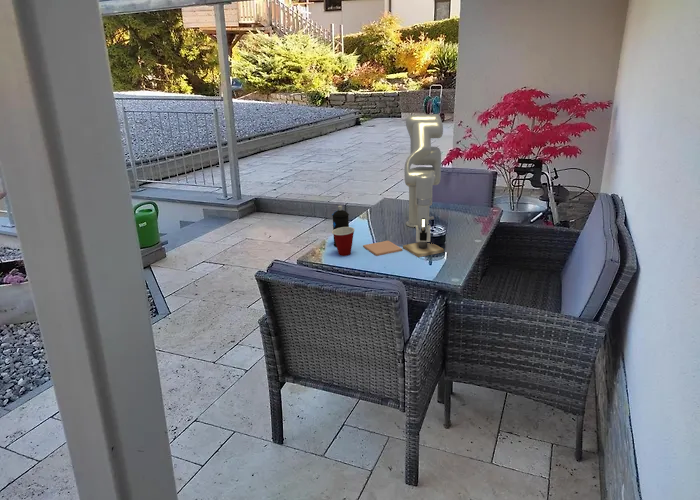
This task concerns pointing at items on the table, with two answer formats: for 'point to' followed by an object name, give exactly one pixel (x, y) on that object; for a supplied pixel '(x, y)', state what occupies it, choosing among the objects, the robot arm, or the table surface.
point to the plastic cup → (343, 240)
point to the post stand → (423, 249)
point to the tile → (382, 248)
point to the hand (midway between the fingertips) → (423, 237)
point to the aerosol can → (340, 219)
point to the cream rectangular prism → (419, 233)
